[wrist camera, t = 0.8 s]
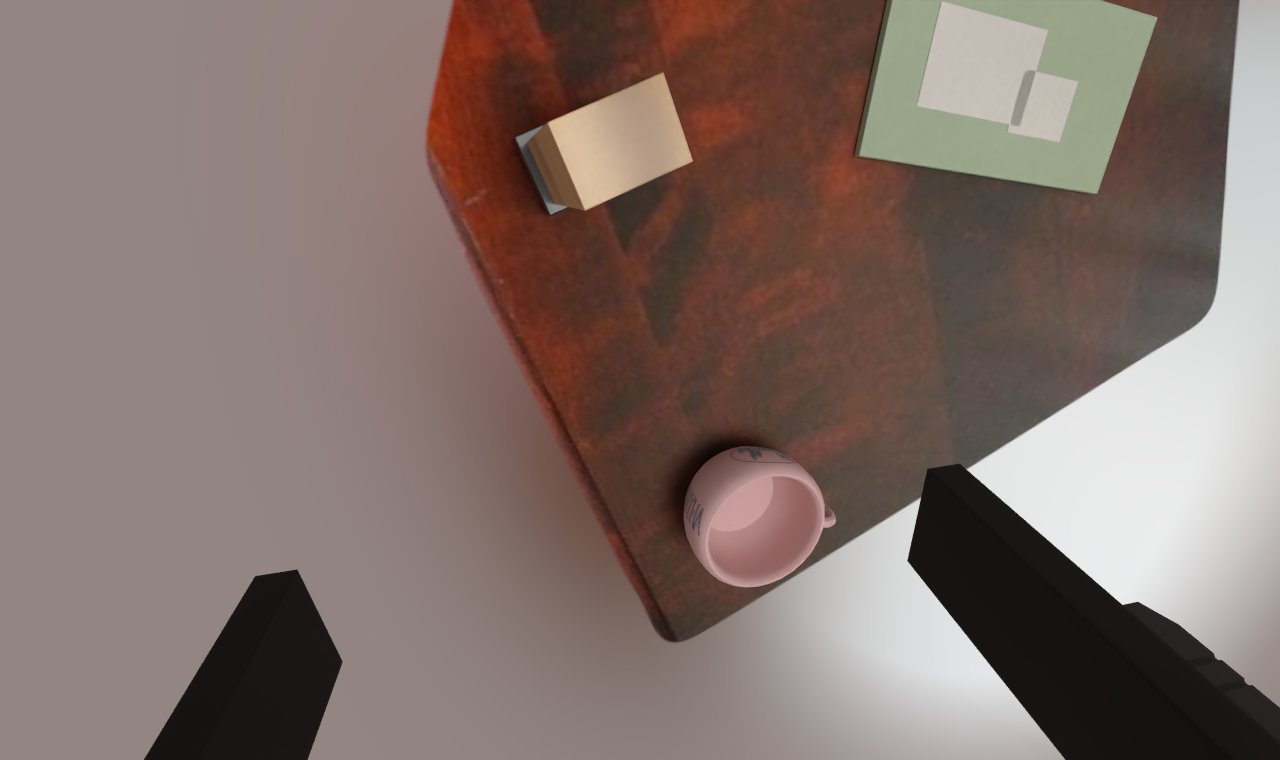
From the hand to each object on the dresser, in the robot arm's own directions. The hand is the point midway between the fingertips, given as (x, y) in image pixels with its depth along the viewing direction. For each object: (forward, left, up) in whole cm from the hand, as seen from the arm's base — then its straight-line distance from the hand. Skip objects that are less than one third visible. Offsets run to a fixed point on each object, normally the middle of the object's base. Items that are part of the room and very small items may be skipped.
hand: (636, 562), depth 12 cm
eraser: (-7, +6, -25) cm, 27 cm away
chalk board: (0, +36, -25) cm, 44 cm away
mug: (+20, +8, -25) cm, 33 cm away
